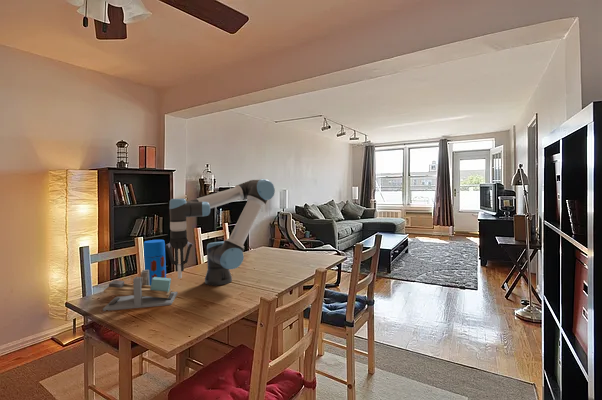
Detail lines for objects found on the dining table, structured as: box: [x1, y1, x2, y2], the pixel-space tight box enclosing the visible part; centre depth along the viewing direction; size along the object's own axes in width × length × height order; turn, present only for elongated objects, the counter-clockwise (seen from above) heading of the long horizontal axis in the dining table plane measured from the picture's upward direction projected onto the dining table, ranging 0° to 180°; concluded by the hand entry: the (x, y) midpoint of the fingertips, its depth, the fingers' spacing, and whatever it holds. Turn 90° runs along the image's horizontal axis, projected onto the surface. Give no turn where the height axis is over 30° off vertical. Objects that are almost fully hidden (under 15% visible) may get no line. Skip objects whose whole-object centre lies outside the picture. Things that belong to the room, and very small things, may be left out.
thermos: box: [143, 239, 167, 286], centre depth 181 cm, size 11×11×25 cm
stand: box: [102, 269, 178, 312], centre depth 155 cm, size 29×16×14 cm, turn 102°
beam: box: [103, 271, 173, 298], centre depth 155 cm, size 28×12×9 cm, turn 102°
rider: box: [150, 277, 172, 293], centre depth 157 cm, size 8×4×6 cm, turn 102°
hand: (179, 277), depth 158 cm, fingers closed
